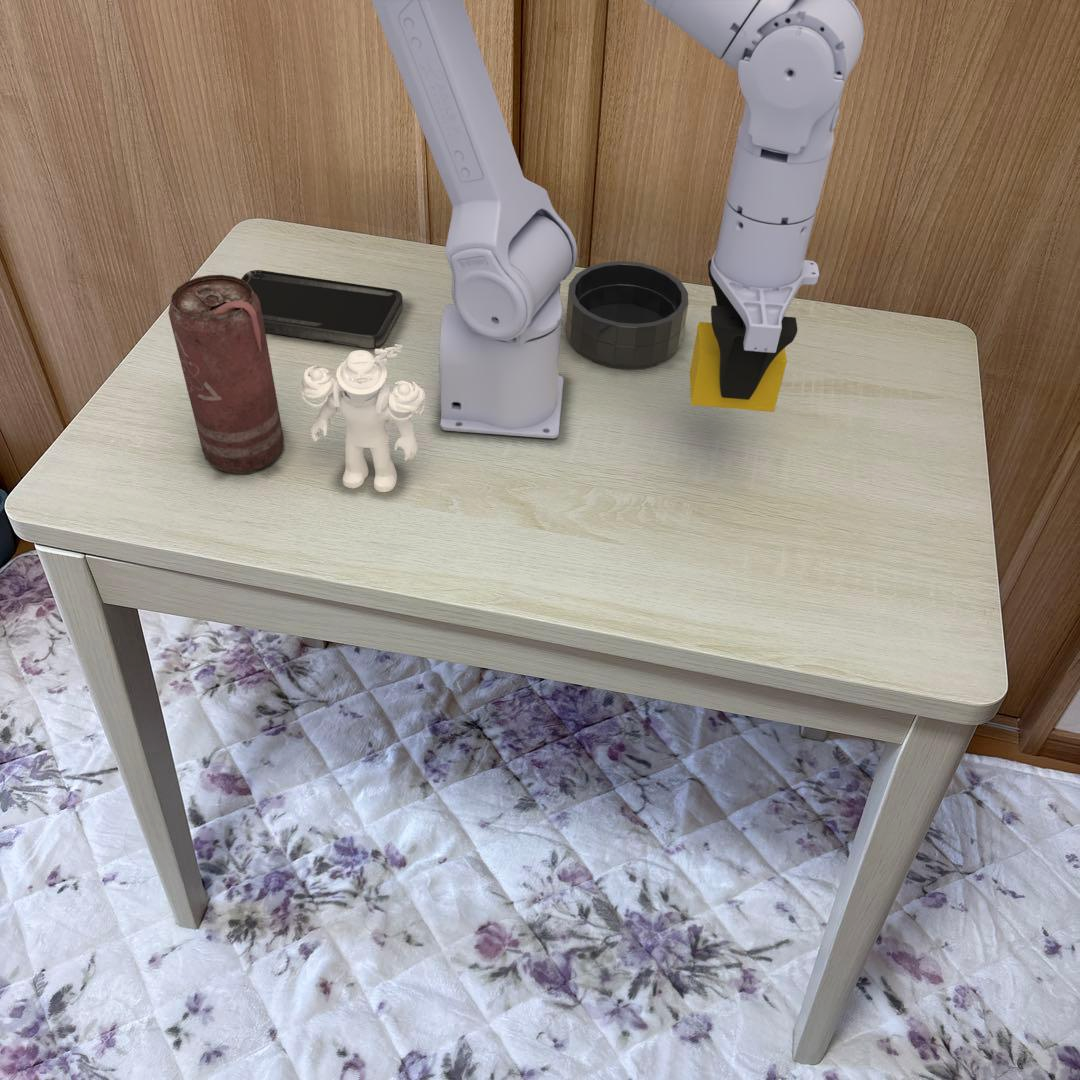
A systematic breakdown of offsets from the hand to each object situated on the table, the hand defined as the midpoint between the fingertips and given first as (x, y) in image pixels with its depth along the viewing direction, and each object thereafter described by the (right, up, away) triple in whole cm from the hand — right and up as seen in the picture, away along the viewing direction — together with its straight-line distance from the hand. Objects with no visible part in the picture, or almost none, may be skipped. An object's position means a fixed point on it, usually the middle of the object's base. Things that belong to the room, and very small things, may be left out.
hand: (733, 376), depth 76 cm
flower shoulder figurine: (-27, -7, +4) cm, 28 cm away
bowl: (-7, +6, +18) cm, 21 cm away
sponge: (0, -1, +1) cm, 1 cm away
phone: (-34, +9, +19) cm, 40 cm away
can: (-37, -5, +6) cm, 38 cm away
